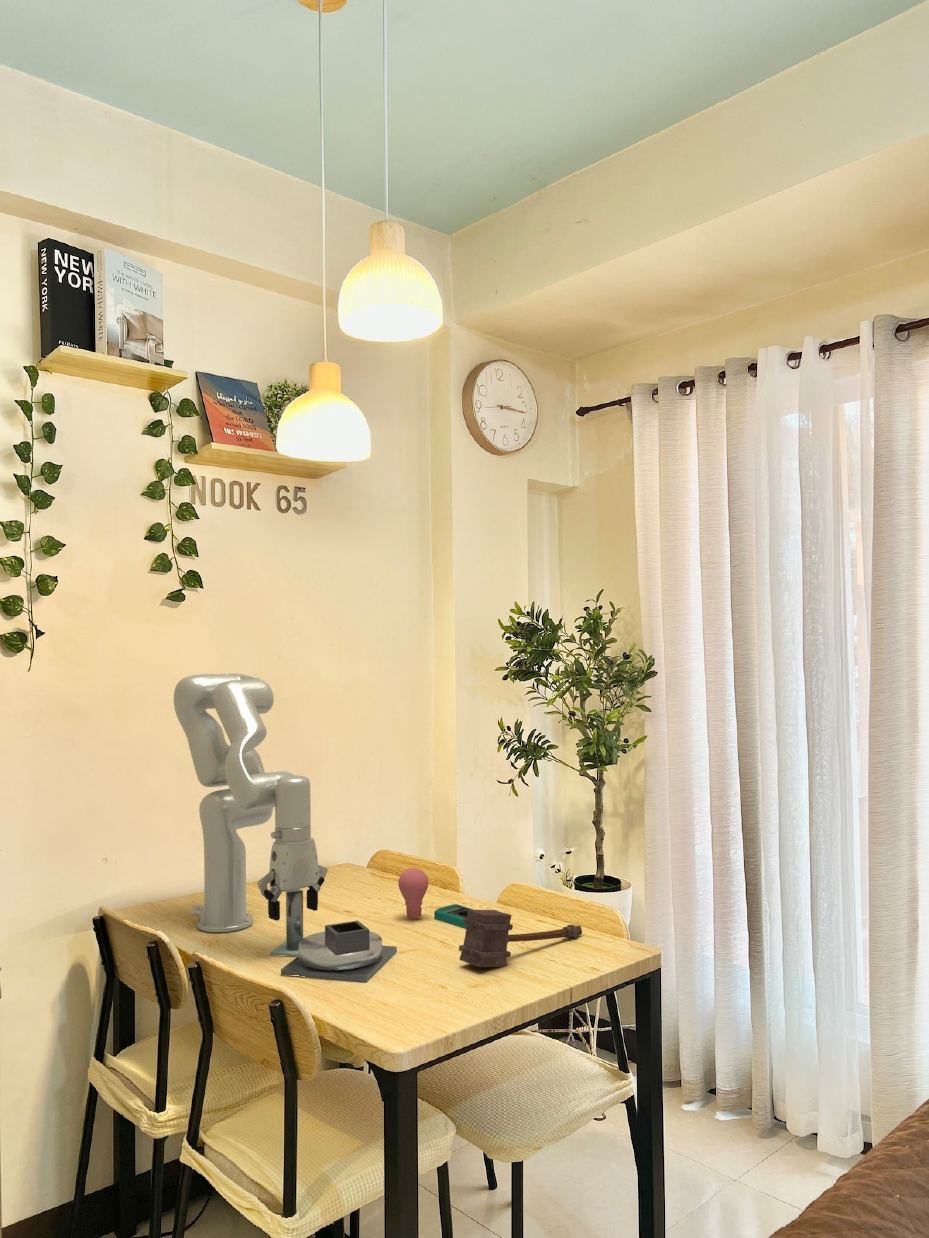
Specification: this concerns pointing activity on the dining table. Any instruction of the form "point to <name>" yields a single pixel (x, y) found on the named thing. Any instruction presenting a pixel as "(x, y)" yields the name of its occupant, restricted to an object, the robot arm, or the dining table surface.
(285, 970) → the base
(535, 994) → the dining table surface
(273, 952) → the mat
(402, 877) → the light bulb
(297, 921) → the chrome capsule
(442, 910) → the digital multimeter
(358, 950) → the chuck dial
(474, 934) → the hammer
